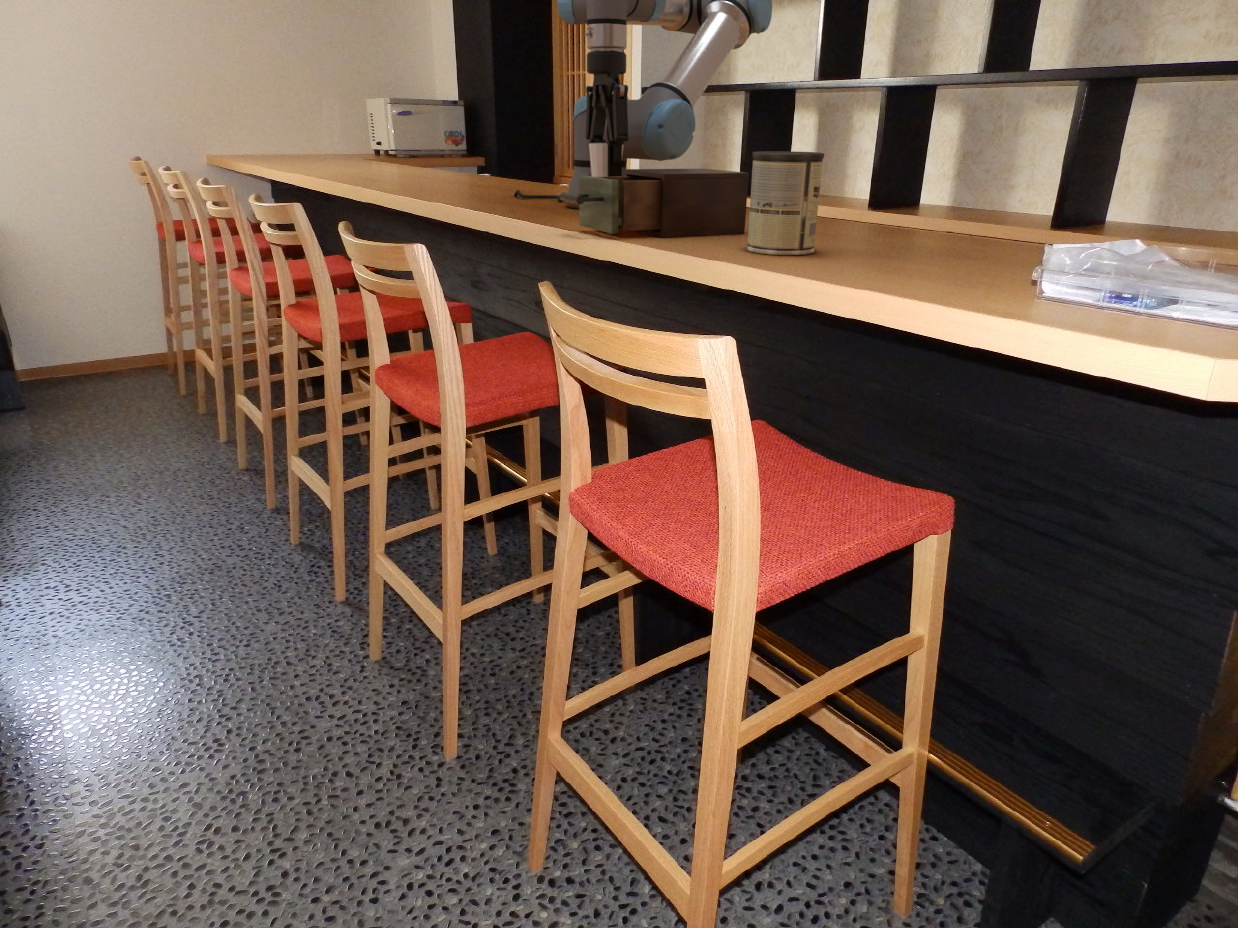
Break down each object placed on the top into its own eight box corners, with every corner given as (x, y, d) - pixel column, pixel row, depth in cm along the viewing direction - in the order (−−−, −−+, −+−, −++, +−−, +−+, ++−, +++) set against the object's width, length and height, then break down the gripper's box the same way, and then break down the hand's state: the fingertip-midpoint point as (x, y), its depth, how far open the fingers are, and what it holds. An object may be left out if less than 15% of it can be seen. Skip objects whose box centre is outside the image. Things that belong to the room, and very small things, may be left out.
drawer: (584, 235, 135) (584, 180, 131) (553, 226, 145) (552, 175, 142) (693, 230, 143) (695, 179, 140) (656, 222, 154) (657, 174, 151)
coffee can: (744, 245, 133) (751, 150, 128) (810, 247, 132) (819, 152, 127) (747, 254, 124) (754, 152, 118) (818, 256, 123) (828, 154, 117)
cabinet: (662, 237, 140) (664, 174, 137) (624, 228, 152) (625, 169, 148) (744, 233, 147) (748, 173, 144) (702, 225, 159) (704, 168, 155)
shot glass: (626, 180, 170) (627, 143, 167) (618, 182, 164) (619, 144, 161) (593, 179, 171) (593, 142, 169) (584, 181, 165) (584, 143, 162)
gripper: (567, 53, 165) (569, 176, 174) (611, 47, 149) (611, 183, 158) (601, 54, 168) (601, 175, 177) (648, 49, 152) (646, 182, 161)
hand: (606, 179), depth 167 cm, fingers closed on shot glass, 7 cm apart
